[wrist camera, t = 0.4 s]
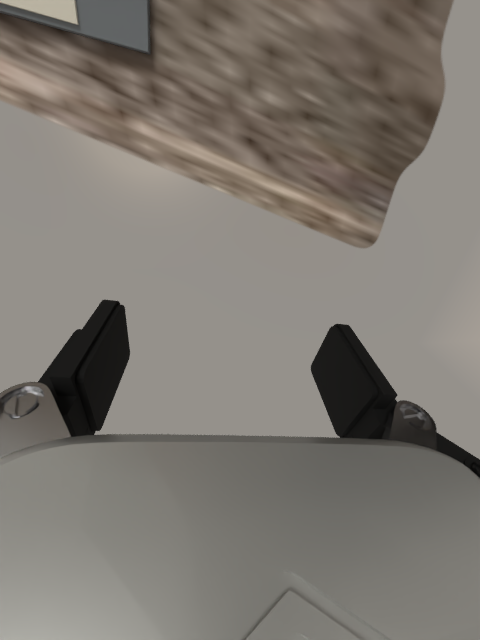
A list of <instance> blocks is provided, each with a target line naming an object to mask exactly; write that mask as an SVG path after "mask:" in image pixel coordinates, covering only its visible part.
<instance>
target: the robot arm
mask: <svg viewBox="0 0 480 640" xmlns="http://www.w3.org/2000/svg"><path fill="white" fill-rule="evenodd" d="M126 324H127V323H126V315H125V307H124V306H123V305H120V303H119V302H118V301H111V300H103V301H102V302H101V303H100V304H99V306H98V307H97V309H96V310H95V312H94V313H93V314H92V316H91V317H90V319H89V320H88V322H87V323H86V325H85V326H84V327H83V329H82V330H81V329H78V330H76V331H75V332H74V333H73V335H72V336H71V337H70V339H69V340H68V341H67V343H66V344H65V345H64V347H63V348H62V350H61V351H60V352H59V354H58V355H57V357H56V358H55V359H54V361H53V362H52V364H51V365H50V366H49V368H48V369H47V371H46V372H45V373H44V374H43V376H42V377H41V378H40V380H39V381H38V382H27V383H22V384H18V385H15V386H13V387H10V388H8V389H6V390H5V391H3V392H1V393H0V640H480V460H479V459H478V458H476V457H475V456H473V455H471V454H470V453H468V452H467V451H465V450H464V449H462V448H460V447H459V446H457V445H456V444H454V443H453V442H451V441H449V440H448V439H446V438H444V437H443V436H441V435H440V434H438V433H437V432H436V424H435V422H434V420H433V419H432V417H431V416H430V415H429V414H428V413H427V412H426V411H425V410H424V409H423V408H421V407H420V406H418V405H417V404H414V403H412V402H409V401H404V400H403V401H399V402H397V401H396V400H395V398H396V396H397V394H396V392H395V391H394V389H393V388H392V386H391V385H390V384H389V382H388V381H387V379H386V378H385V376H384V375H383V373H382V372H381V371H380V369H379V368H378V366H377V365H376V364H375V362H374V361H373V359H372V358H371V356H370V355H369V353H368V352H367V351H366V349H365V348H364V346H363V345H362V343H361V342H360V340H359V339H358V338H357V336H356V335H355V333H354V332H353V330H352V329H351V328H350V326H349V325H343V324H335V325H334V326H333V327H331V328H330V329H329V331H328V333H327V335H326V337H325V339H324V341H323V343H322V345H321V347H320V349H319V351H318V353H317V355H316V357H315V359H314V361H313V363H312V365H311V372H312V374H313V377H314V380H315V382H316V385H317V387H318V390H319V392H320V395H321V397H322V400H323V402H324V405H325V407H326V410H327V412H328V415H329V417H330V420H331V422H332V425H333V427H334V430H335V432H336V434H337V435H338V436H340V438H326V437H325V438H324V437H285V436H234V435H170V434H107V435H94V433H95V431H100V430H101V428H102V426H103V423H104V420H105V418H106V416H107V413H108V411H109V408H110V406H111V403H112V400H113V398H114V396H115V393H116V390H117V388H118V385H119V383H120V380H121V378H122V375H123V373H124V370H125V368H126V365H127V363H128V360H129V356H130V349H129V341H128V332H127V325H126Z"/></svg>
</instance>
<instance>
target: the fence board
mask: <svg viewBox="0 0 480 640" xmlns="http://www.w3.org/2000/svg"><path fill="white" fill-rule="evenodd" d="M0 13H3V14H7V15H10V16H14V17H17V18H21V19H25V20H28V21H32V22H35V23H39V24H42V25H46V26H50V27H53V28H57V29H60V30H64V31H67V32H71V33H75V34H78V35H82V36H85V37H89V38H92V39H96V40H100V41H103V42H107V43H110V44H114V45H117V46H121V47H124V48H128V49H132V50H135V51H139V52H142V53H146V54H149V55H150V7H149V0H0Z"/></svg>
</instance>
